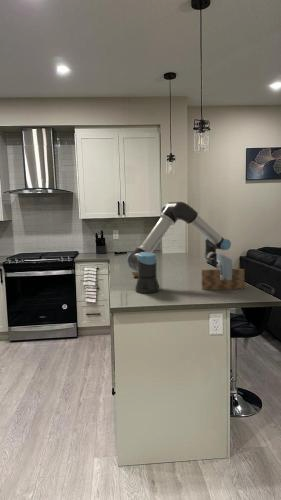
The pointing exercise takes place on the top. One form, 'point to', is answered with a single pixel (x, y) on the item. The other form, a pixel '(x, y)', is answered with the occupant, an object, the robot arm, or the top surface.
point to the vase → (134, 272)
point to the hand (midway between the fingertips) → (222, 263)
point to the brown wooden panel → (213, 279)
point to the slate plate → (225, 266)
